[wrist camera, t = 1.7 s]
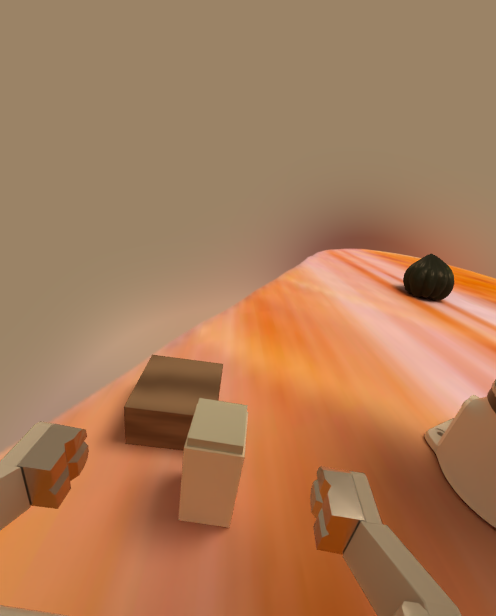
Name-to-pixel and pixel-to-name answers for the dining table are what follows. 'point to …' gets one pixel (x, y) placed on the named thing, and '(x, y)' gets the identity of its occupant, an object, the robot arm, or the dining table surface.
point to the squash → (429, 278)
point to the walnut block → (168, 400)
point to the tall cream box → (213, 462)
